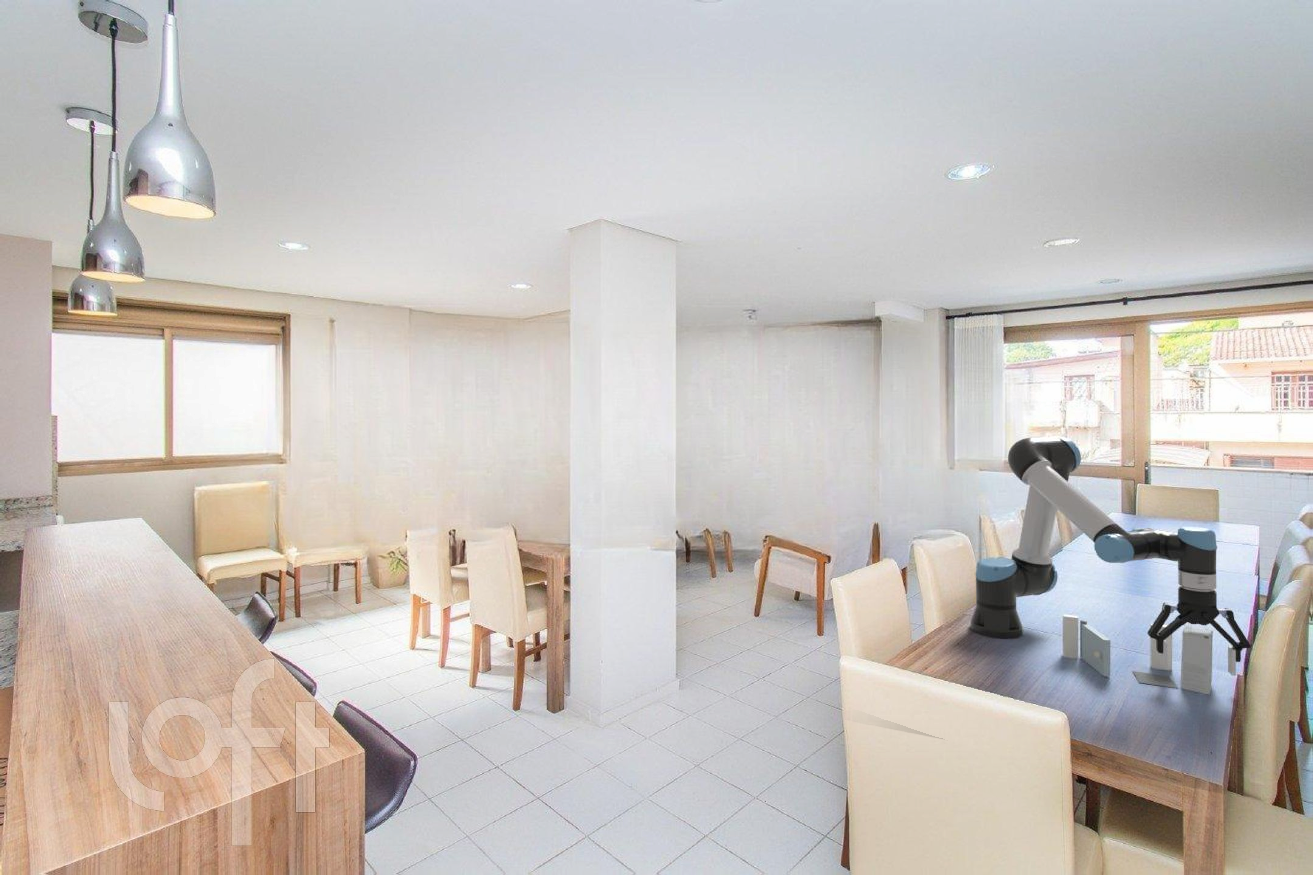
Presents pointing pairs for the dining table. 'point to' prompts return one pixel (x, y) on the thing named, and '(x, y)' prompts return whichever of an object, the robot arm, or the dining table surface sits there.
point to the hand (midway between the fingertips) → (1197, 669)
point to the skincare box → (1196, 659)
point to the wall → (1072, 643)
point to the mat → (1154, 679)
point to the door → (1095, 649)
